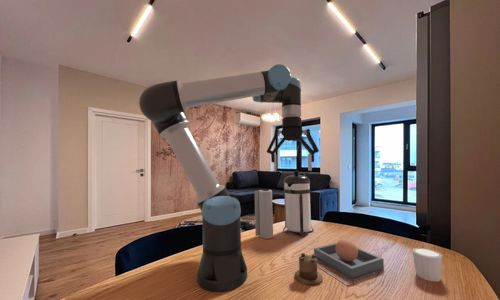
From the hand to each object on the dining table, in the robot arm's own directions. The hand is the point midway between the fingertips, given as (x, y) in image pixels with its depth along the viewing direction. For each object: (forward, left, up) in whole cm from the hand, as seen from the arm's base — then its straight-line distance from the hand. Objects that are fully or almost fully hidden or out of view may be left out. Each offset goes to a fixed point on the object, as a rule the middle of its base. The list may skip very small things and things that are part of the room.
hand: (292, 170), depth 84 cm
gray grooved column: (-3, +18, -31) cm, 36 cm away
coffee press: (+15, +17, -31) cm, 39 cm away
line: (-1, -16, -31) cm, 35 cm away
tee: (-8, -18, -31) cm, 36 cm away
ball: (+10, -14, -29) cm, 34 cm away
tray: (+9, -17, -31) cm, 36 cm away
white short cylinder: (+24, -33, -31) cm, 51 cm away
